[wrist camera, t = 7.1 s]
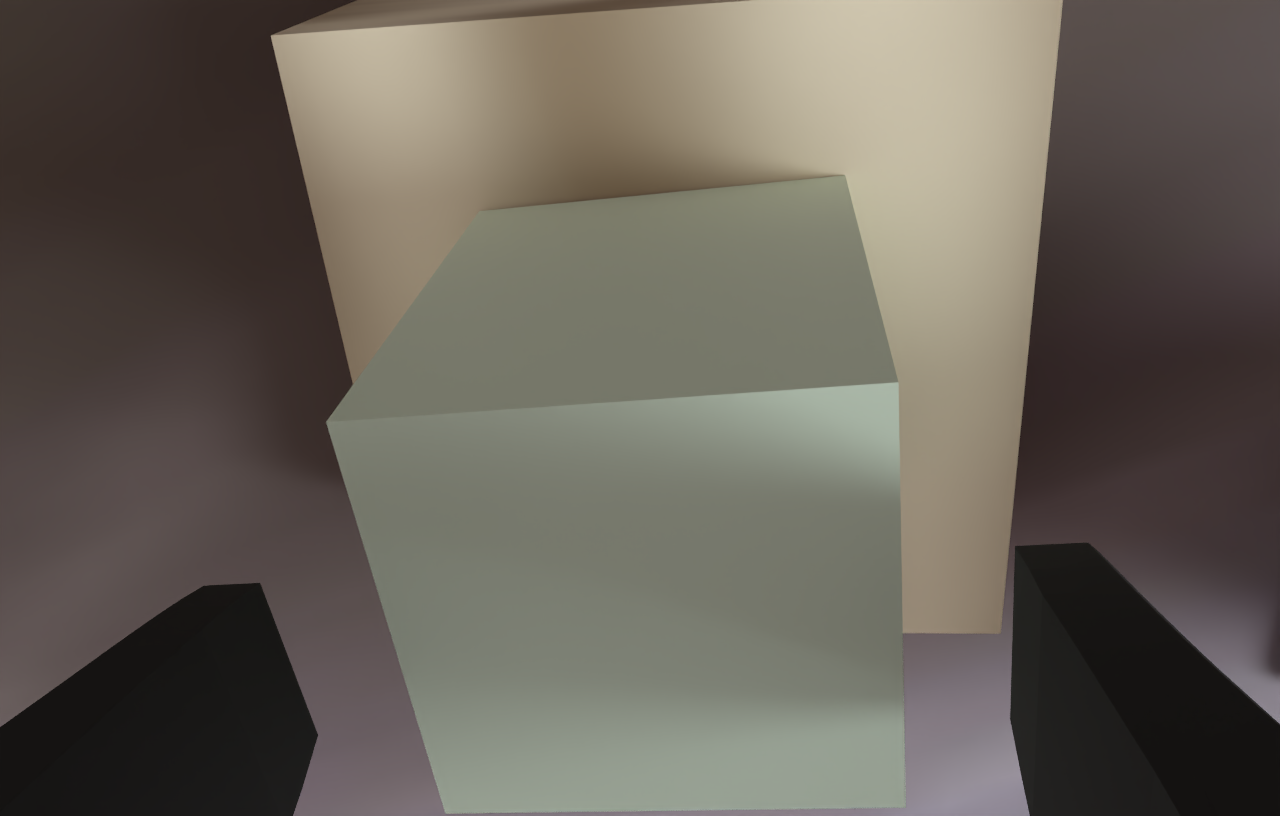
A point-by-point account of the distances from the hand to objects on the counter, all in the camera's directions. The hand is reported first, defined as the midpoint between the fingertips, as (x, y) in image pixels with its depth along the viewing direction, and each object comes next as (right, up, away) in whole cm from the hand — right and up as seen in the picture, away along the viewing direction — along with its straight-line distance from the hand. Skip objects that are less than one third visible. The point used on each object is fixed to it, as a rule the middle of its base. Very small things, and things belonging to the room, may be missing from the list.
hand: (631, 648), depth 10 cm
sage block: (+1, +3, +5) cm, 6 cm away
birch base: (+1, +5, +9) cm, 10 cm away
